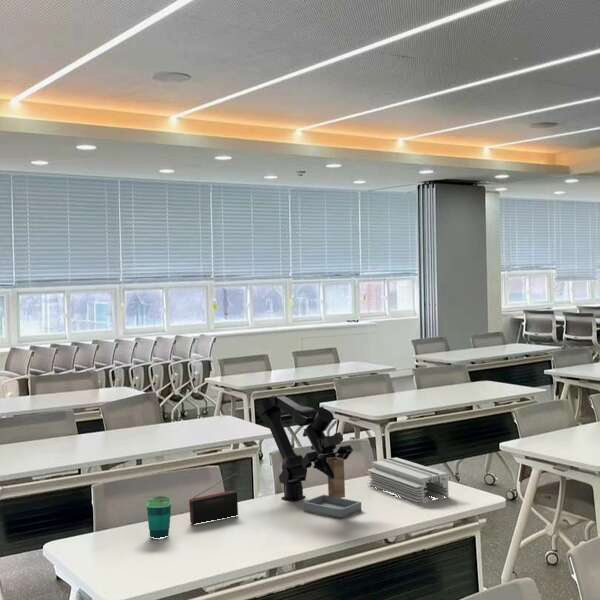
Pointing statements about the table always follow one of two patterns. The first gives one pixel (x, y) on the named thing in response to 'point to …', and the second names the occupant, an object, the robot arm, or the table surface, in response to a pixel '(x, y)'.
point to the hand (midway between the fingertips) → (338, 477)
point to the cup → (159, 516)
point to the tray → (332, 506)
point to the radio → (213, 506)
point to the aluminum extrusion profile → (408, 480)
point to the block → (336, 478)
